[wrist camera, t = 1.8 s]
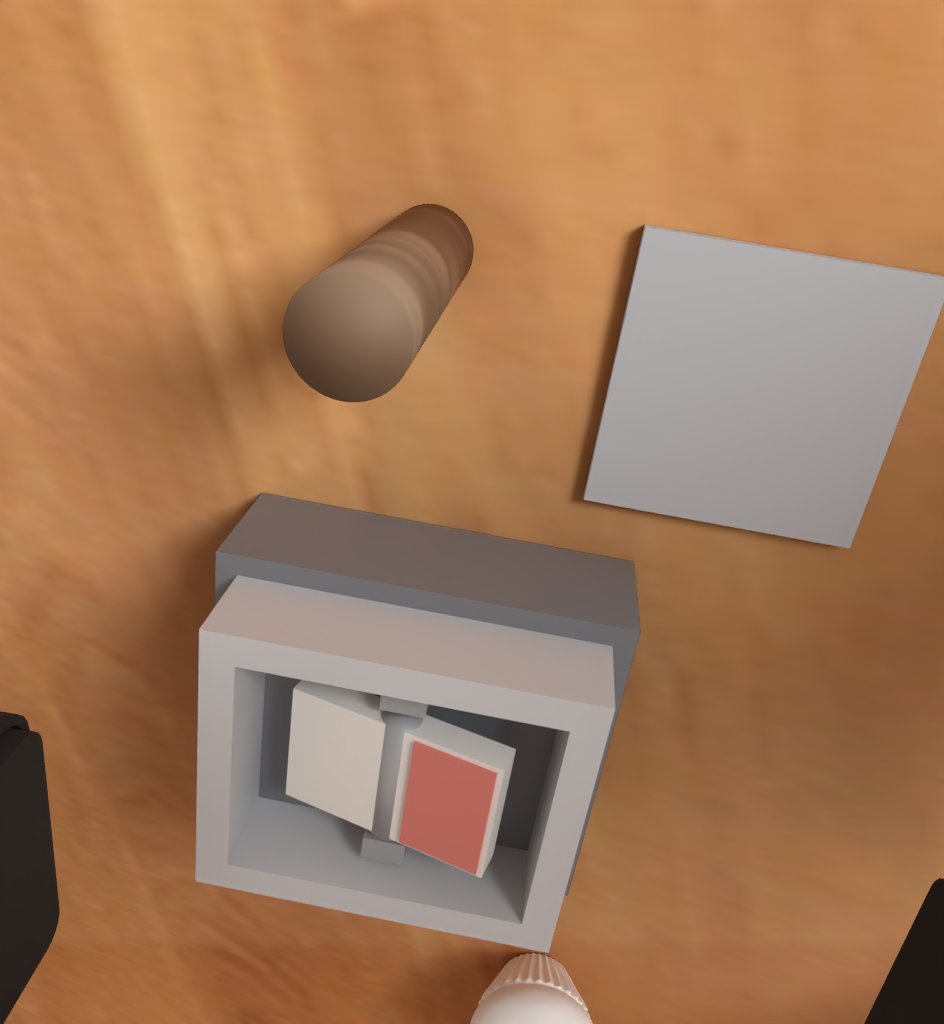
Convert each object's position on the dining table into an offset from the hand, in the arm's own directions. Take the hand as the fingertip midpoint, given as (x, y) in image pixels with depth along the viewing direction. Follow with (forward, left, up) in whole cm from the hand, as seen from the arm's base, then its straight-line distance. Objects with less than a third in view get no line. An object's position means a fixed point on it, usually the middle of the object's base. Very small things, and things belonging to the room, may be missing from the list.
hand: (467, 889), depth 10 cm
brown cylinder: (-2, -5, -25) cm, 25 cm away
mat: (+1, +7, -25) cm, 26 cm away
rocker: (+15, -3, -18) cm, 24 cm away
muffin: (+33, +5, -25) cm, 42 cm away
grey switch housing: (+15, -3, -25) cm, 29 cm away
